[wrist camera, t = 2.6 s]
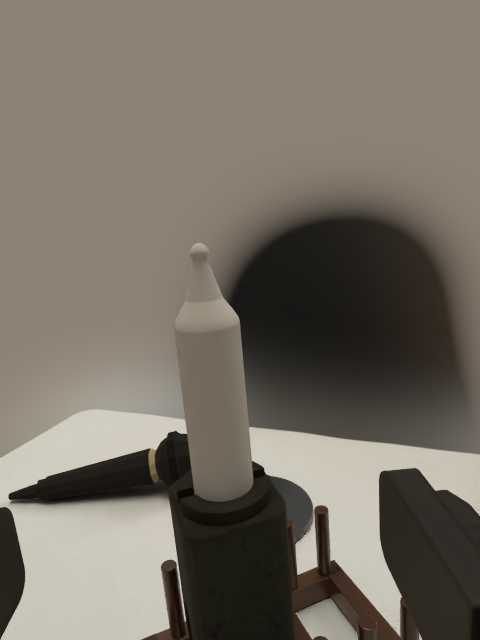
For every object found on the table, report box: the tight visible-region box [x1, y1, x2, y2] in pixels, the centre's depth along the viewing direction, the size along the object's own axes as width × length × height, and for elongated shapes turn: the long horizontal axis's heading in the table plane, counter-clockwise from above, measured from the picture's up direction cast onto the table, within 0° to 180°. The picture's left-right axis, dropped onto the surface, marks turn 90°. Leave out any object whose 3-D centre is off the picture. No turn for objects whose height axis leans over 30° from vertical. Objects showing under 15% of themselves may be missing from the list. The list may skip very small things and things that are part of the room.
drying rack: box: [142, 506, 419, 640], centre depth 25 cm, size 14×9×6 cm
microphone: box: [9, 431, 191, 500], centre depth 45 cm, size 6×6×20 cm
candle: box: [169, 243, 295, 640], centre depth 22 cm, size 5×5×25 cm
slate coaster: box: [270, 476, 313, 542], centre depth 40 cm, size 10×10×1 cm
